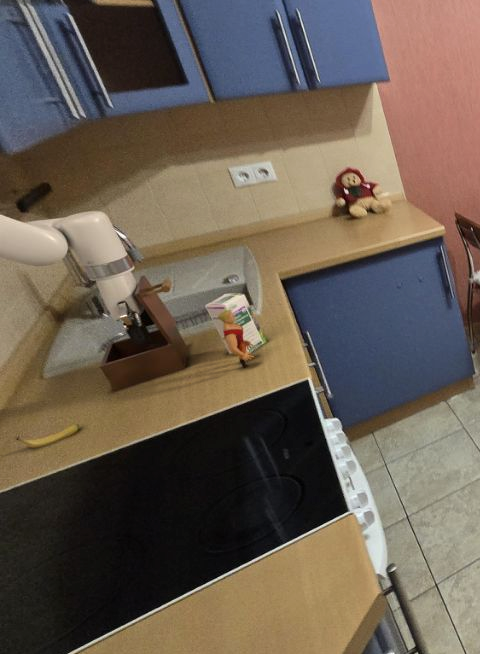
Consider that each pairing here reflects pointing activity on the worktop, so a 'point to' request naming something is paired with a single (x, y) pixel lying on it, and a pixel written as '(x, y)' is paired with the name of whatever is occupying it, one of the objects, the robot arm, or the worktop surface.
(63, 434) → the banana
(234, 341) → the action figure
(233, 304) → the syrup box
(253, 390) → the worktop surface
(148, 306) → the lid
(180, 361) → the chest
